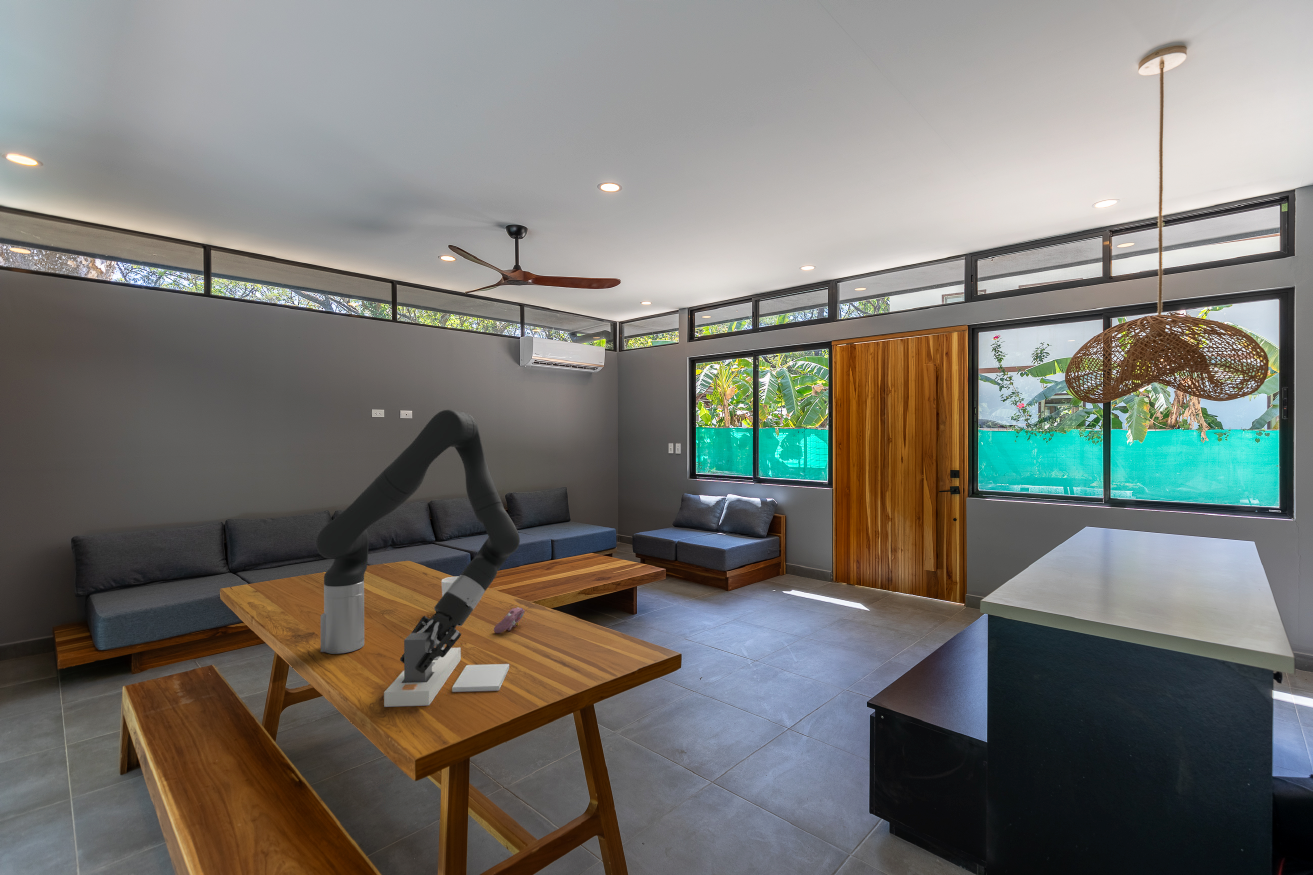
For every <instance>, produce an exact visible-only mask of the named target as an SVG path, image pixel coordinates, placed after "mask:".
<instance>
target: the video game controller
mask: <svg viewBox="0 0 1313 875" xmlns="http://www.w3.org/2000/svg"><path fill="white" fill-rule="evenodd" d="M524 614H525V609H523V608H521V607H518V606H517V607H515V608H514V607H513V608H511V609H510V610H509V611H508V613H507V614H506V615H505V616H504V617H503V618H502V620H500V621H499V622H498V623H497V624H495V625H494V627H493V631H494V633H495V634H502V633H503V632H504V631H506V630H507V631H508V632H510V631H511V630H512V629H513V628H515V627H517V626H518V624H519V621H521V620H522V618H523V617H524Z"/></svg>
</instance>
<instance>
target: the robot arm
mask: <svg viewBox="0 0 1313 875" xmlns="http://www.w3.org/2000/svg"><path fill="white" fill-rule="evenodd" d="M451 447H452V448H455V450H456V452H457V454H458V455H459V458H460V459H461V461H462V465H463V468H464V474H465V487H466V488H465V489H466V494H467V497H468V500H469V503H470V505H471V508H472V511H473V512H474V515H475V518H476V519H477V521H478V522H479V523H480V524H482V525H483V527H484V530H485V531H486V534H487V536H488V537H487V538H486V539H485V541H484V543H483V545H481V547H480V548H479V550H478V552H477V553H476V555H475V557H474V558H473V559H472V560H471V561H470V562H469V563H468V564H467V566H465V568H464V569H463V571H462V572H461V573H460V575H459V577H458V578H457V579H456V580H455V581H454V582H453V583H452V585H451V586H450V587H449V589H448V590H447V591H446V593H445V594H444V595H443V597H442V596H441V598H440V599H439V601H438V602H437V603H436V604H435V606H434V611H435V613H434V615H432V616H431V617H430V618H429V617H427V616H426V615H423V616H421V618H420V619H419V620H418V623H417V624H416V625H415V627H414V628H413V629H412V631H411V633H431V637H430V646H429V649H428V653H425V654H424V656H423V657H422V658H421V660H420V661H419V662H418V664H417V665H416V667H415V669H416V670H418V671H419V672H421V673H424V672H425V670H426V669H427V668H428V666H429V665H430V664H431V663H432V661H433V660H434V659H435V658H437V657H438V656H440V657H444V656H445V655H446V654H447V652H448V651H449V650H450V649H451V648H453V647H454V645H455V644H456V643H457V641H458V640H459V639H460V638H461V636H462V633H461V632H460V631H459V630H457V629H456V627H462V626H463V625H464V624H465V622H466V621H467V620H468V618H469V617H470V615H471V614H472V613H473V611H474V610H475V609H476V606H477V605H478V604H479V602H480V601H481V599H482V598H483V596H484V594H485V593H486V591H487V589H488V588H489V587H490V585H491V584H492V582H493V581H494V580H495V578H496V576H497V574H498V571H499V570H500V568H501V567H502V566H503V564H504V563H505V562H506V560H507V559H508V558H509V557H510V556H511V555H512V554H514V553H515V552H516V551H517V550H518V548H519V547H520V540H521V538H520V534H519V531H518V529H517V527H516V524H514V522H513V520H512V519H511V517H510V515H509V513H508V512H507V511H506V509H505V508H504V504H503V501H502V500H501V497H500V494H499V492H498V490H497V487H496V485H495V482H494V480H493V477H492V475H491V472H490V469H489V466H488V462H487V458H486V454H485V451H484V447H483V444H482V440H481V434H480V430H479V427H478V423H477V422H476V419H475V418H474V417H473V416H472V415H471V414H470V413H467V412H463V411H460V410H455V409H443V410H441V411H439V412H437V413H436V414H435V415H433V417H432V418H431V419H430V420H429V421H428V422H427V424H426V425H425V426H424V428H423V429H421V431H420V432H419V434H418V435H417V436H416V438H415V439H414V440H413V441H412V442H411V443H410V444H409V445H408V446H407V447H406V448H405V449H404V450H403V451H402V452H401V453H400V455H399V454H398V456H397V458H395V459H394V460H393V462H391V463H390V464H389V465H388V466H387V467H386V468H385V469H384V470H383V471H382V472H380V474H378V475H377V476H376V478H375V479H374V480H373V481H372V482H371V483H370V485H368V486H367V487H366V488H365V489H364V491H363V492H361V493H360V495H358V497H357V498H356V499H355V500H354V501H353V502H352V503H351V504H350V505H349V506H348V507H346V509H345V510H343V511H342V512H341V513H340V514H339V515H337V516H336V517H335V518H332V520H331V521H329V522H328V523H327V524H326V525H325V526H323V528H321V530H319V532H318V535H317V537H316V542H315V547H316V550H317V553H318V554H319V555H320V556H322V558H325V559H329V560H334V561H333V563H332V565H331V566H330V568H328V570H327V571H326V572H325V573H324V575H323V604H324V605H323V610H324V611H323V613H322V614H320V653H327V654H333V655H335V654H336V655H337V654H338V655H341V654H346V653H350V652H354V651H357V650H359V649H361V648H363V647H364V646H365V574H366V571H367V569H368V562H369V559H368V558H369V533H368V528H369V527H371V526H372V525H373V524H375V523H376V522H378V521H380V520H381V519H383V518H385V517H386V516H388V515H390V514H391V513H392V512H394V511H395V510H397V509H398V508H400V507H401V506H402V505H403V504H404V503H405V502H407V501H408V500H409V499H410V498H411V496H413V495H414V494H415V492H417V490H418V489H419V488H420V487H421V485H422V484H423V482H424V480H425V477H426V474H427V471H428V470H429V467H430V466H431V464H432V463H433V462H434V461H435V460H436V459H437V458H438V457H439V456H440V455H441V454H443V452H444V453H445V451H446V450H448V449H449V448H451ZM442 648H444V650H442ZM399 661H400V662H402V663H403V664H404V653H403V654H402V655H401V657H400V659H399Z"/></svg>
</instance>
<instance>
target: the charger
mask: <svg viewBox="0 0 1313 875" xmlns="http://www.w3.org/2000/svg"><path fill="white" fill-rule="evenodd" d="M430 637H431V633H418V632H417V633H412V632H411V633H410V634H409V635H407V637H406V638H405V639H404V640H403V644H404V645H403V654H404V663H403V665H404V666H403V668H404V670H403V671H404V683H415V682H428V680H429V679H430V678H431V676H432V663H431V664H430V665H429V666H428V668H427V669H426V670H425V672H424V673H421V672H419V671H418V670H416V669H415V667H416V665H417V664H418V662H419V661H420V660H421V658H422V657H423V656H424V654H425V653H428V649H429V646H430Z"/></svg>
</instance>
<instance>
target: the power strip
mask: <svg viewBox="0 0 1313 875" xmlns="http://www.w3.org/2000/svg"><path fill="white" fill-rule="evenodd" d="M444 648H445V647H444ZM444 648H442V650H444ZM461 648H462V647H451V649H450V650H449V651H448V652H447V654H446V655H445V656H444V657H440V656H438V657H437V658H435V659H434V660H433V661H432V676H431V678H430V679H429V680H428V682H415V683H404V670H402V671H401V673H400V674H399V675H398V677H396V679H395V680H393V682H392V683H391V684H390V685H389V686H388V688H386V690H385V691H383V699H384V702H383V705H384V707H385V708H386V707H387V708H388V707H391V708H392V707H416V706H418V707H420V706H422V707H423V706H430V705H431V704H432V702H433V700H434V699H435V698H436V697H437V695H438V693H439V692H440V690H441V689H442V687H443V686H444V684H445V683H446V681H447V680H448V679H449V678H450V675H451V674H452V672H454V670H455V668H456V667H457V666H458V665H459V663H460V661H461V660H462V659H461V657H462V653H461V652H462V650H461Z"/></svg>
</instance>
